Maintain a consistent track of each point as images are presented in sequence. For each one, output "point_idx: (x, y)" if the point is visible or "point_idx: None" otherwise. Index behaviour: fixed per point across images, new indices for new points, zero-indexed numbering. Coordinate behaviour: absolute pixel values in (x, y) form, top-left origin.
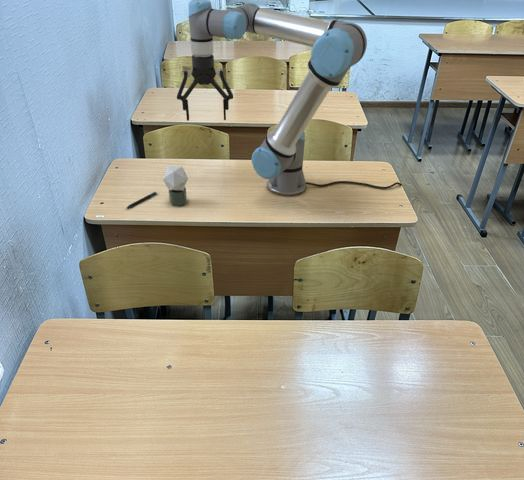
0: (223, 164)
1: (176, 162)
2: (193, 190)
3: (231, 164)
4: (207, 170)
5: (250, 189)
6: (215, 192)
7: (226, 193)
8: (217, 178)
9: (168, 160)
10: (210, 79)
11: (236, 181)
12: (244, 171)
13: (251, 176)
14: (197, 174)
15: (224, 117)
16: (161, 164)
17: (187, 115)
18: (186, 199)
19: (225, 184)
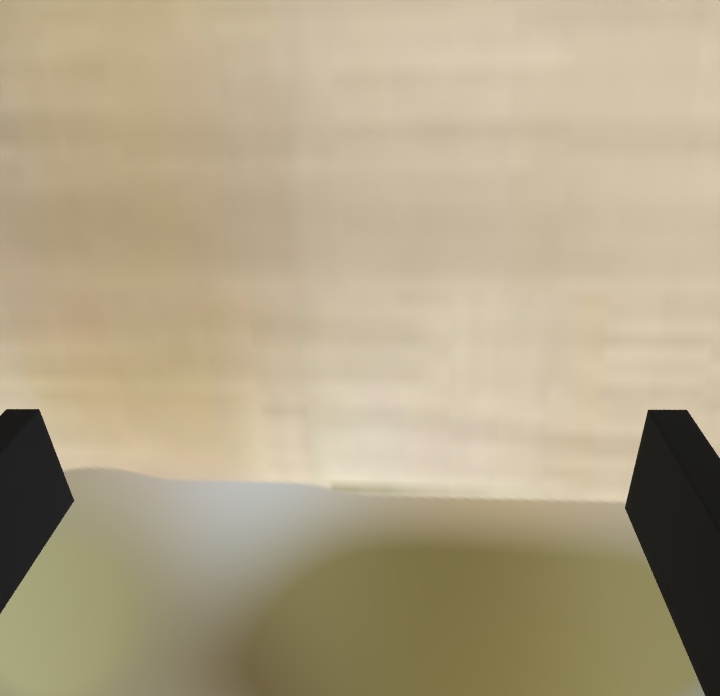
0: (313, 437)
1: (589, 465)
2: (502, 62)
3: (267, 436)
4: (404, 367)
5: (92, 89)
6: (335, 29)
7: (252, 13)
8: (335, 260)
9: None
10: None
11: (207, 216)
12: (179, 352)
13: (125, 287)
14: (467, 316)
15: (3, 436)
16: None
17: (705, 471)
18: None
19: (275, 169)
